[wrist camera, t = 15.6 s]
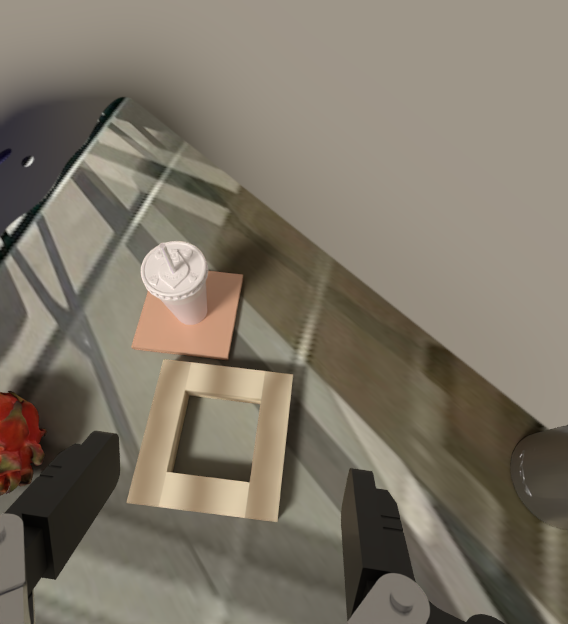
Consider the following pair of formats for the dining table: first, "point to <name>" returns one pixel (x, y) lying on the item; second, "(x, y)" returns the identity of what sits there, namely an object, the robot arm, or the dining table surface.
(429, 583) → the dining table surface
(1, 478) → the dragon fruit
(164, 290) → the smoothie
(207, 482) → the block
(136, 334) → the coaster
